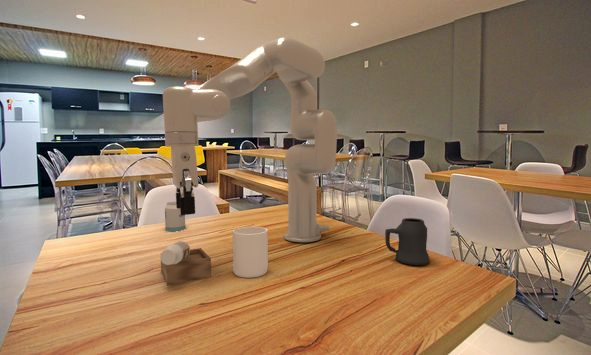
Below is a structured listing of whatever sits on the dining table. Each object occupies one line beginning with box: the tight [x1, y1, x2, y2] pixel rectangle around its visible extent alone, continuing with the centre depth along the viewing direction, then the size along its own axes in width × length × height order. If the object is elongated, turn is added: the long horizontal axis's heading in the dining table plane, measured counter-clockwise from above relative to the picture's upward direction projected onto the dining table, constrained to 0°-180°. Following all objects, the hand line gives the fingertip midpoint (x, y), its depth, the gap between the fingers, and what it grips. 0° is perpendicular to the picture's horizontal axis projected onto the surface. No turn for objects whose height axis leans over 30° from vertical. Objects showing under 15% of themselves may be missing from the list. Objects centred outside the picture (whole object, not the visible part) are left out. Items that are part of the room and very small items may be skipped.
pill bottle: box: [159, 240, 191, 265], centre depth 76 cm, size 4×4×8 cm
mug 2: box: [384, 217, 430, 266], centre depth 93 cm, size 12×9×11 cm
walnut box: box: [160, 247, 212, 286], centre depth 82 cm, size 10×10×5 cm
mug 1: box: [232, 226, 269, 279], centre depth 85 cm, size 9×12×11 cm
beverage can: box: [164, 201, 186, 233], centre depth 123 cm, size 7×7×12 cm
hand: (185, 210), depth 81 cm, fingers open, 9 cm apart
